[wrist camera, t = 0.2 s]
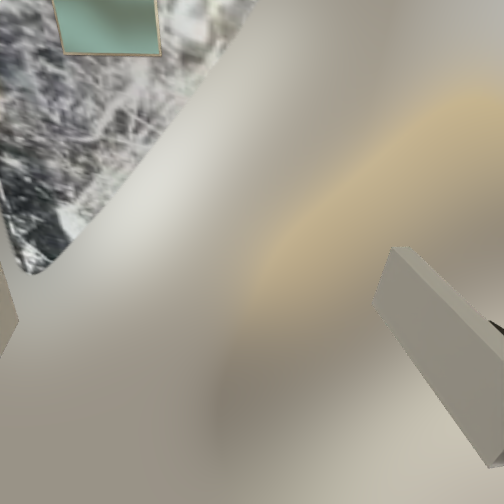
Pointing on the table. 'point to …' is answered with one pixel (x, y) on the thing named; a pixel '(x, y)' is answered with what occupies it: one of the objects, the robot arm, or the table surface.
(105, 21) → the beige green flat slab
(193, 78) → the table surface
